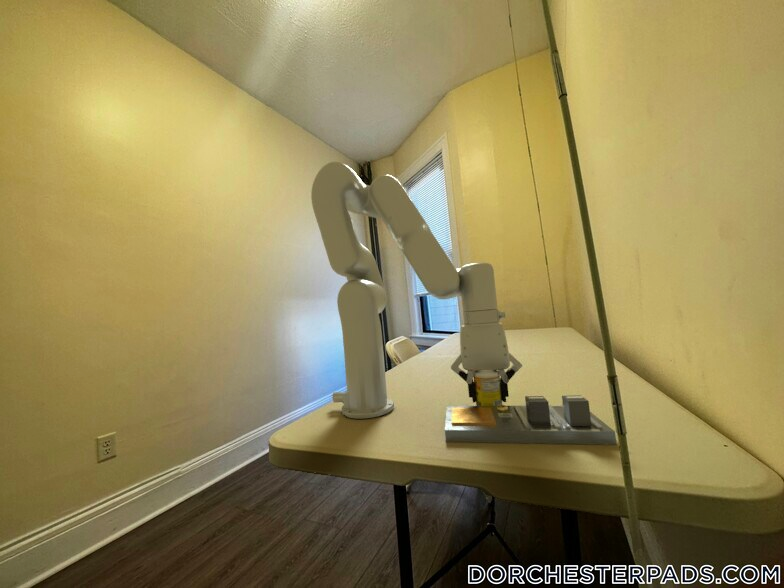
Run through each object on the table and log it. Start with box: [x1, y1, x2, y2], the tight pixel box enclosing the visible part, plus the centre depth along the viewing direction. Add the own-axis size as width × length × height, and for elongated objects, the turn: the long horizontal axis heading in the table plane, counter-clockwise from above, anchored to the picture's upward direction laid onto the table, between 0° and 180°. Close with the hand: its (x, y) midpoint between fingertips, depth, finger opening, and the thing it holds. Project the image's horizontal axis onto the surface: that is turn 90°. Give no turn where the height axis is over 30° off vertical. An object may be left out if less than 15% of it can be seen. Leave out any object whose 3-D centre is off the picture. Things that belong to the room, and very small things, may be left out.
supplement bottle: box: [473, 370, 503, 406], centre depth 64 cm, size 6×6×10 cm
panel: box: [444, 395, 617, 446], centre depth 53 cm, size 26×12×6 cm, turn 77°
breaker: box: [561, 394, 591, 426], centre depth 49 cm, size 3×3×4 cm
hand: (488, 399), depth 64 cm, fingers closed on supplement bottle, 5 cm apart
